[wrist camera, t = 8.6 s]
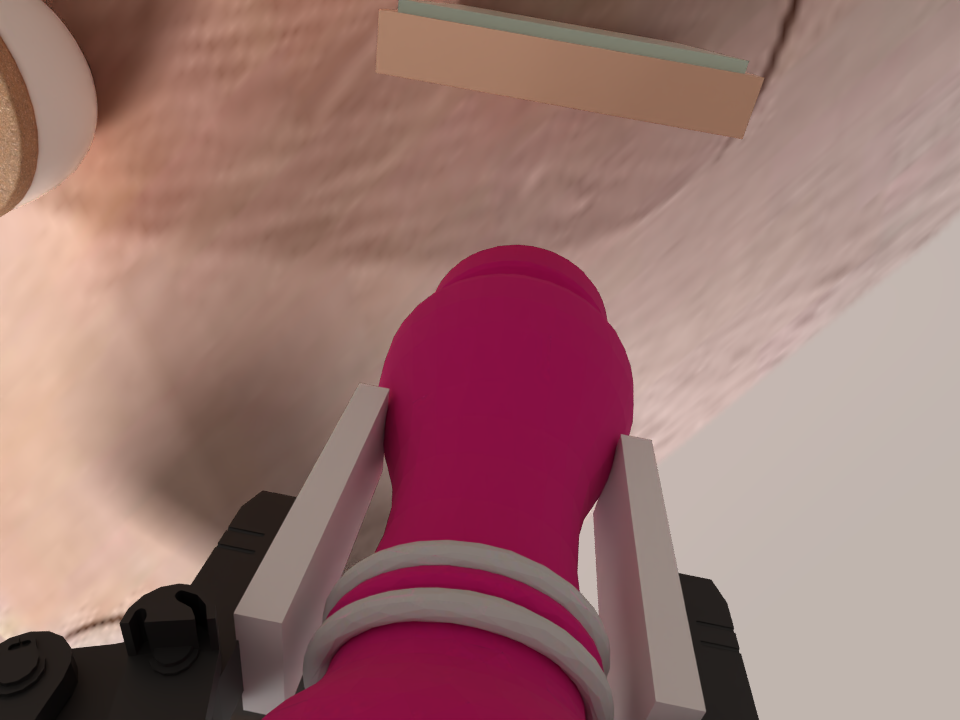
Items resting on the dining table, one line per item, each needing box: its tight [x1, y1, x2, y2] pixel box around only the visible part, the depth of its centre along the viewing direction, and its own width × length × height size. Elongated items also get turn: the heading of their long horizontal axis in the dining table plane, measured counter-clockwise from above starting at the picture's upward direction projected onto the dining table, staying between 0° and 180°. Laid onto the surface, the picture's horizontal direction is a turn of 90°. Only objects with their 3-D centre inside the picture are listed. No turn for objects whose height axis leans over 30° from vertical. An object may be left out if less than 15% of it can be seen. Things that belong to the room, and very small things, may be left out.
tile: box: [375, 0, 764, 139], centre depth 21 cm, size 2×10×12 cm, turn 81°
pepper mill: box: [262, 245, 634, 720], centre depth 12 cm, size 7×7×20 cm
